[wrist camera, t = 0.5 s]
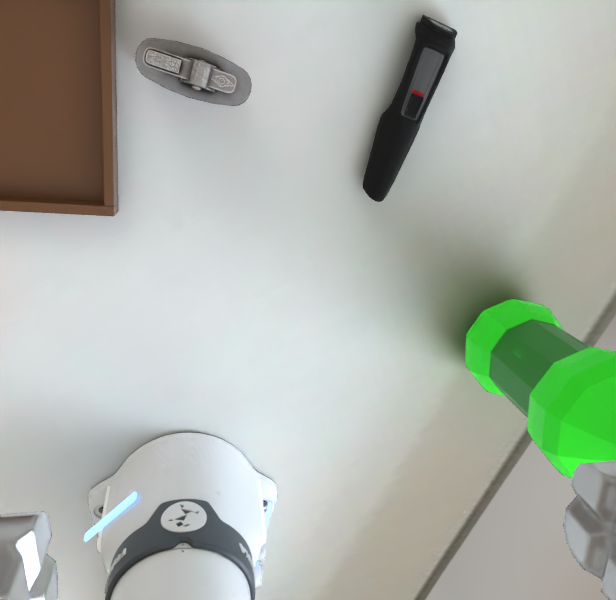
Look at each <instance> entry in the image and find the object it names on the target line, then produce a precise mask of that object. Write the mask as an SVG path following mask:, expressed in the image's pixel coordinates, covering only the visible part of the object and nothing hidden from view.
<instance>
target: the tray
mask: <svg viewBox="0 0 616 600" xmlns="http://www.w3.org/2000/svg"><path fill="white" fill-rule="evenodd" d="M0 210H3V211H22V212H42V213H61V214H81V215H100V216H114V215H115V214H116V213H117V212H118V162H117V101H116V41H115V0H0Z"/></svg>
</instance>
